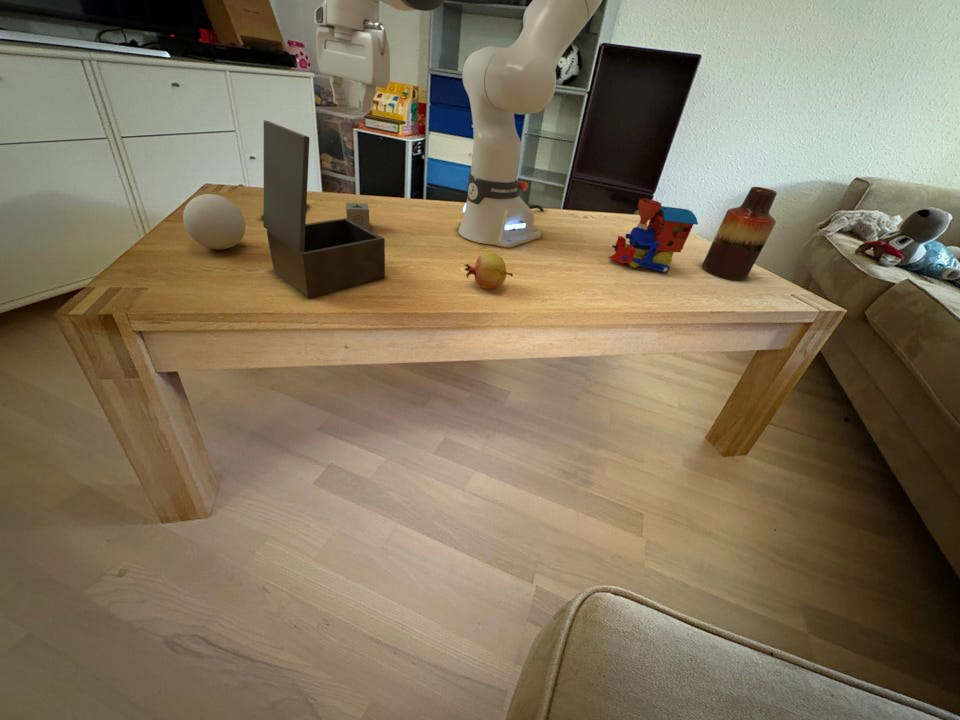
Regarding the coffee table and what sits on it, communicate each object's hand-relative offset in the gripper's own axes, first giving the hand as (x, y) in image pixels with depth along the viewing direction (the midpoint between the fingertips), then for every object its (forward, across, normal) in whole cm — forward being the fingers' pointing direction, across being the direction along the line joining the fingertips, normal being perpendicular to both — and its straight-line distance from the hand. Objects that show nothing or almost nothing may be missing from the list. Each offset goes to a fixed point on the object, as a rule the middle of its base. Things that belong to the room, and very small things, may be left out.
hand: (351, 108), depth 81 cm
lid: (+11, -16, +20) cm, 28 cm away
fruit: (+25, -35, -10) cm, 44 cm away
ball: (+28, +5, +25) cm, 38 cm away
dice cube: (+25, +5, -5) cm, 26 cm away
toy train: (+21, -45, -53) cm, 73 cm away
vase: (+20, -60, -72) cm, 96 cm away
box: (+26, -16, +13) cm, 34 cm away
